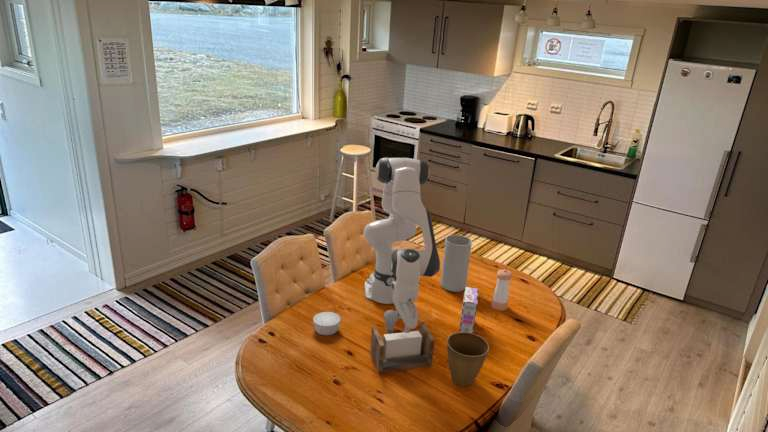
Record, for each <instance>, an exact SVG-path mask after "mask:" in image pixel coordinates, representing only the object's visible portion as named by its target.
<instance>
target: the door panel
mask: <svg viewBox="0 0 768 432" xmlns="http://www.w3.org/2000/svg"><path fill="white" fill-rule="evenodd" d="M382 341H383V343H384V358H383V360H384V359H392V358H401V357H409V356H417V355H420V351H421V341H422V336H421V334H420V333H419V330H414V331H413V330H412V331H411V330H410V332H409V333H405V332H404V331H403V332H395V333H394V332H393V333H392V334H388V333H383V337H382Z"/></svg>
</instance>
